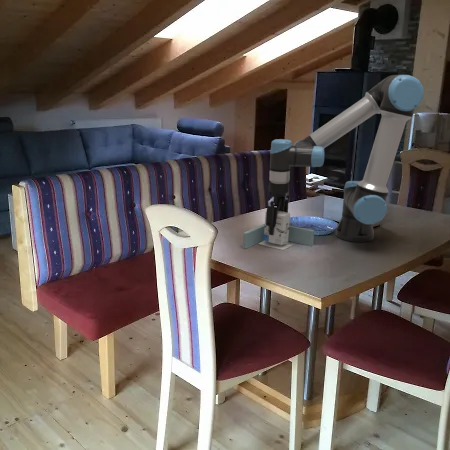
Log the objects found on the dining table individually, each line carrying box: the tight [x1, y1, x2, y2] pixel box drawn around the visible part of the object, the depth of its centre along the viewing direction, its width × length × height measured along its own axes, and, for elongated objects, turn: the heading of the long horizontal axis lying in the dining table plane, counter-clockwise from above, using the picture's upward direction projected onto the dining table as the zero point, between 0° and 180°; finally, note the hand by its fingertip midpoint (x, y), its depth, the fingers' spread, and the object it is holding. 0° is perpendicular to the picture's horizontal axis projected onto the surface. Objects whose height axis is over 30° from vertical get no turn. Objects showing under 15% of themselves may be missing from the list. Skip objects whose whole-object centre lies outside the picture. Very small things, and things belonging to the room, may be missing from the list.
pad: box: [258, 240, 293, 251], centre depth 195 cm, size 11×7×1 cm, turn 54°
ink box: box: [263, 211, 291, 245], centre depth 193 cm, size 9×5×12 cm, turn 51°
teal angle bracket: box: [242, 223, 315, 249], centre depth 193 cm, size 20×20×6 cm
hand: (275, 240), depth 195 cm, fingers closed on ink box, 5 cm apart
